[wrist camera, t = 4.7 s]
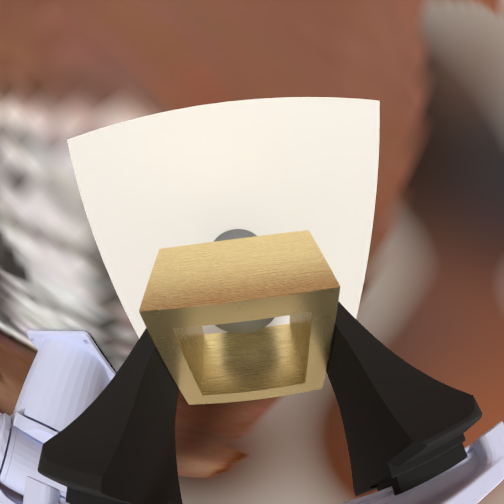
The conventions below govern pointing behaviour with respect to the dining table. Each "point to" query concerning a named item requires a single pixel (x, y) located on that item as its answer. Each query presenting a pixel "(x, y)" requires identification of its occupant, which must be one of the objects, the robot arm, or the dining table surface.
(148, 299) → the wooden square ring
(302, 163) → the post stand
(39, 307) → the dining table surface
